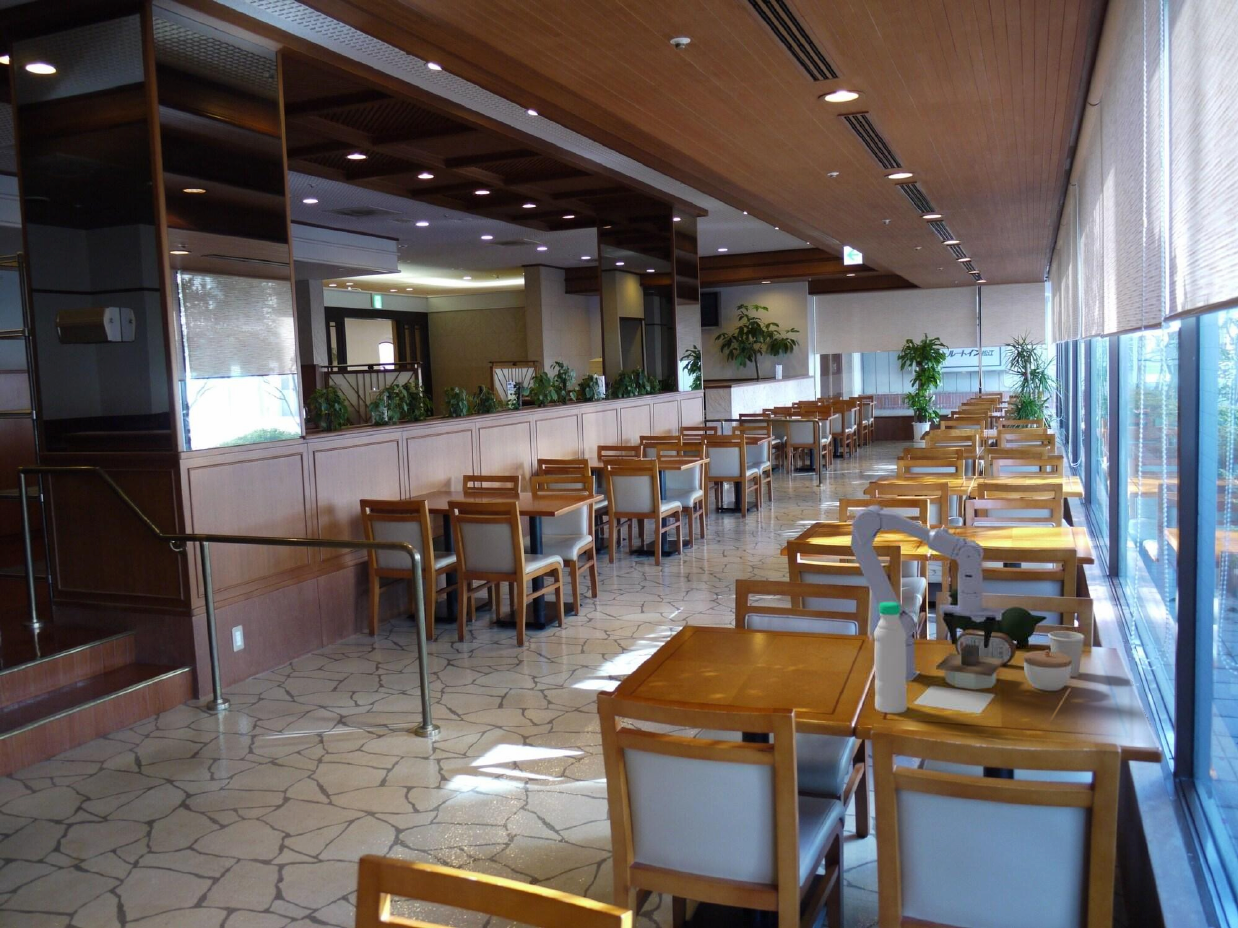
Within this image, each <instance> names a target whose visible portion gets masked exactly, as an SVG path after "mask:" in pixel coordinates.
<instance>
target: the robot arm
mask: <svg viewBox="0 0 1238 928" xmlns="http://www.w3.org/2000/svg"><path fill="white" fill-rule="evenodd" d="M851 526H852V528H851V529H852V531H851V539H850V548H851V551H852V552H853V554H854V557H855V559H856V561H857V563H858V566H859V567H860V570H861V572H862V574H863V576H864V578H865V581H866V582H867V584H868V587H869V590H870V591H871V593H872V596H873V597H874V599H875V603H876V604H877V606H878V607H879V604H880V603H882V602H896V603H898V604H899V605H900V613H899V614H900V615H899V616H898V619H899V621H900V622H901V624H902V627H903V629H904V631H905V633H906V639H905V646H906V678H905V680H906V682H912V681H913V680H914V679H915V678H916V677H918V675H920V674H921V672H920V671H918V670H916V669H915V668H916V667H915V662H916V661H915V660H916V659H915V656H916V655H915V654H916V653H915V639H914V638H913V635H912V634H913V632H914V631H915V628H916V622H915V621H916V620H915V619H914V617H913V616H912V615H911V614H910V613H908V611H907V610H906V608H905V606H904V605H903V604H902V603H901V602H900V600H899V599H898V597H897V595H896V592H895V591H894V588H893V586H892V585H891V582H890V579H889V577H888V576H887V574H886V572H885V569H884V568H883V565H882V563H881V561H880V559H879V557H878V554H877V553H876V551H875V548H874V542H875V540H876V538H877V535H878V533H879V532H880V531H881V532H885V531H894V530H896V531H898V532H901V533H903V534H906V535H908V536H910V537H913V538H915V539H918V540H920V541H923V542H925V544H926V545H927V547H928V549H929V550H931V551H933V552H935V553H938V554H940V555H942V556H944V557H946V558H948V559H951V560H956V563H958V571H957V589H958V606H951V605H950V604H949V605H947V604H944V605H943V604H941V605H939V608H938V610H939V611H938V613H939V615H943V616H942V620H943V622H944V624H945V627H946V628H947V630H948V633H949V637H950V640H951V644H952V645H955V644H956V643H957V638H958V632H957V631H958V628H957V617H958V615H961V616H970V617H971V618H982V619H984V620H982V621H983V626H984V648H988V647H989V642H990V637H991V634H992V631H993V629H994V627H995V625H996V623H997V621H998V620H1001V619H1002V613H1003V611H1002V610H998V609H992V608H987V607H983V565H982V559H983V558H984V549H983V547H982V546H981V544H980V543H978V542H976V540H972V539H970V540H969V539H968V538H967V537H965V536H963V537H960V536H958V535H956V534H953V533H951V532H949V528H946V527H943V528H940V527H937V528H934V529H930V528H928V527H926V526H924V525H922V524H919V523H918V522H917V521H915V520H912V519H910V518H907V517H906V516H904V515H902V514H900V513H898V512H896V511H894V510H892V509H889V508H883V506H881V505H878V504H872V505H868V506H866V507H865V508H864V509H862V510H860V511H859V512H857V514H856V516H855V518H854V519H853V521H852V523H851ZM874 677H875V678H876V676H875V674H874Z"/></svg>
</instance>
